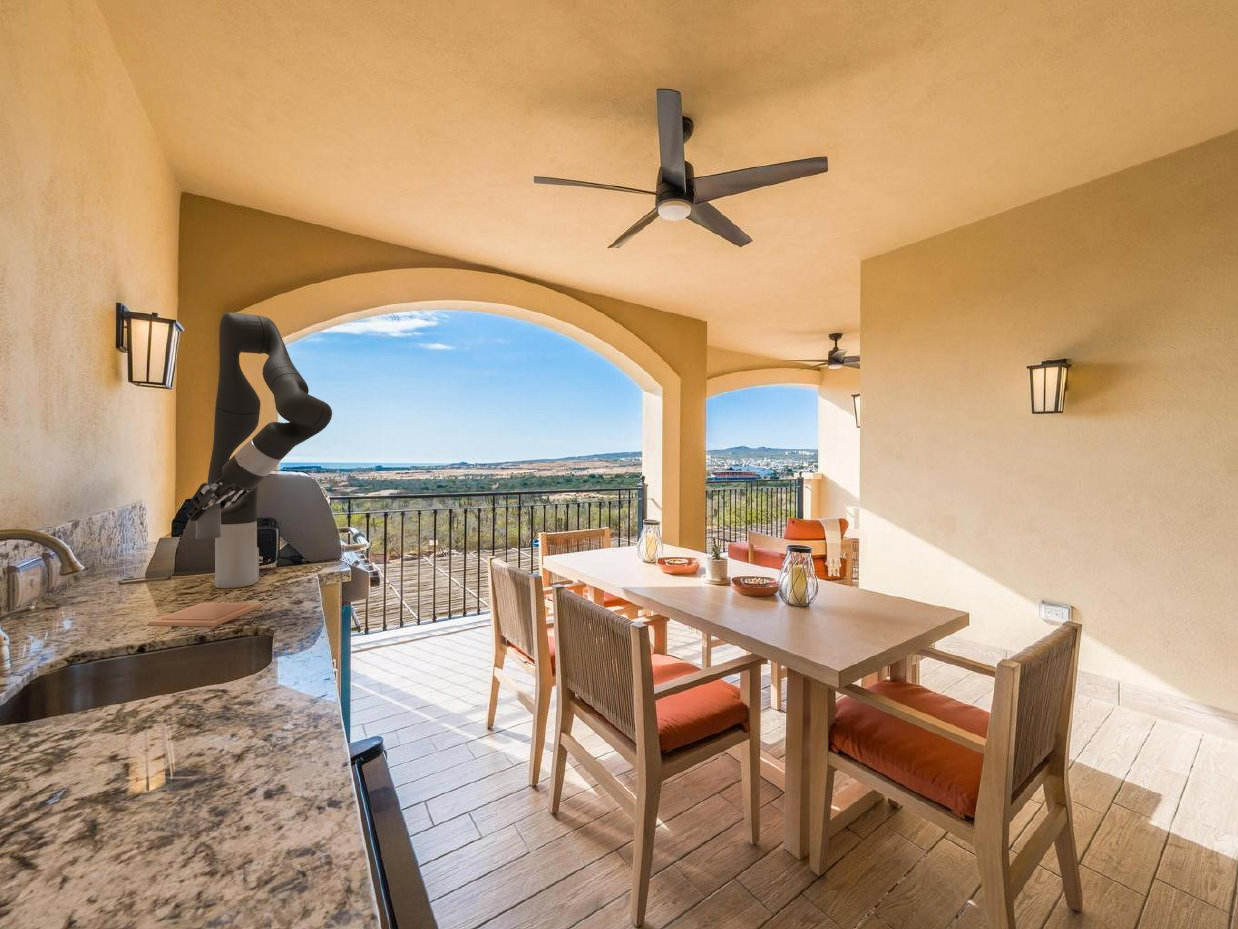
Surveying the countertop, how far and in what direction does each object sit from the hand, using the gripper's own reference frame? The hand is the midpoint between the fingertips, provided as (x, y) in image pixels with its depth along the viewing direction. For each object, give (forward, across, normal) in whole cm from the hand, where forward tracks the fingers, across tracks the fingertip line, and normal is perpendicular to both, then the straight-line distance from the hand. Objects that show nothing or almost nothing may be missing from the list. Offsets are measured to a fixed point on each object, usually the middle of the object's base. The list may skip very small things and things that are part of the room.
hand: (199, 516), depth 115 cm
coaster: (+14, 0, +17) cm, 22 cm away
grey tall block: (+2, 0, +5) cm, 5 cm away
